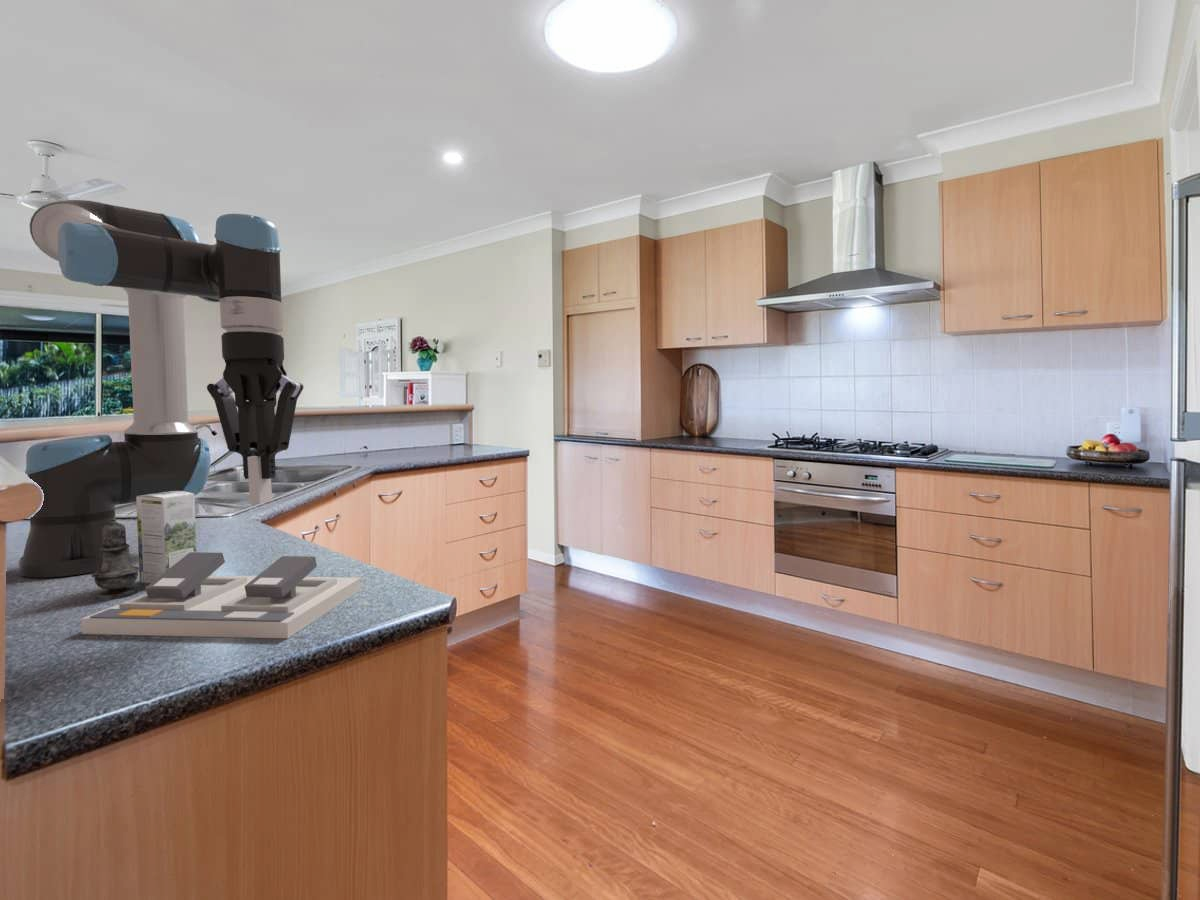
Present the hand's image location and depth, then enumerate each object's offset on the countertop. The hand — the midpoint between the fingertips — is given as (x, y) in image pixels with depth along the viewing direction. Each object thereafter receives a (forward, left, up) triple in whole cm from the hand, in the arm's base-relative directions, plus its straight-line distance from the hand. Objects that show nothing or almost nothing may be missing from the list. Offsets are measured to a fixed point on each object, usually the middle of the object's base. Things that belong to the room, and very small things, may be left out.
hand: (261, 502), depth 87 cm
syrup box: (-13, -25, -16) cm, 32 cm away
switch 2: (+1, +3, -10) cm, 11 cm away
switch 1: (+1, -11, -10) cm, 15 cm away
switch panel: (+1, -4, -15) cm, 16 cm away
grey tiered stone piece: (-5, -27, -16) cm, 31 cm away
